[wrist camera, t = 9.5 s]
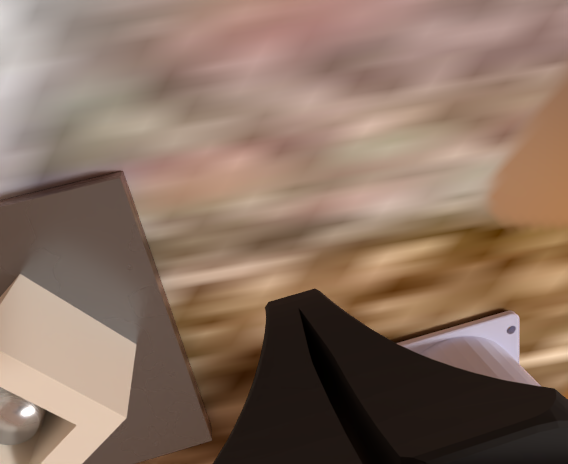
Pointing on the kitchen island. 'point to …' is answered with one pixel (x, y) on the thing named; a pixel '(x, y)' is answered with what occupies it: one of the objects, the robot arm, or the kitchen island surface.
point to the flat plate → (104, 310)
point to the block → (61, 374)
